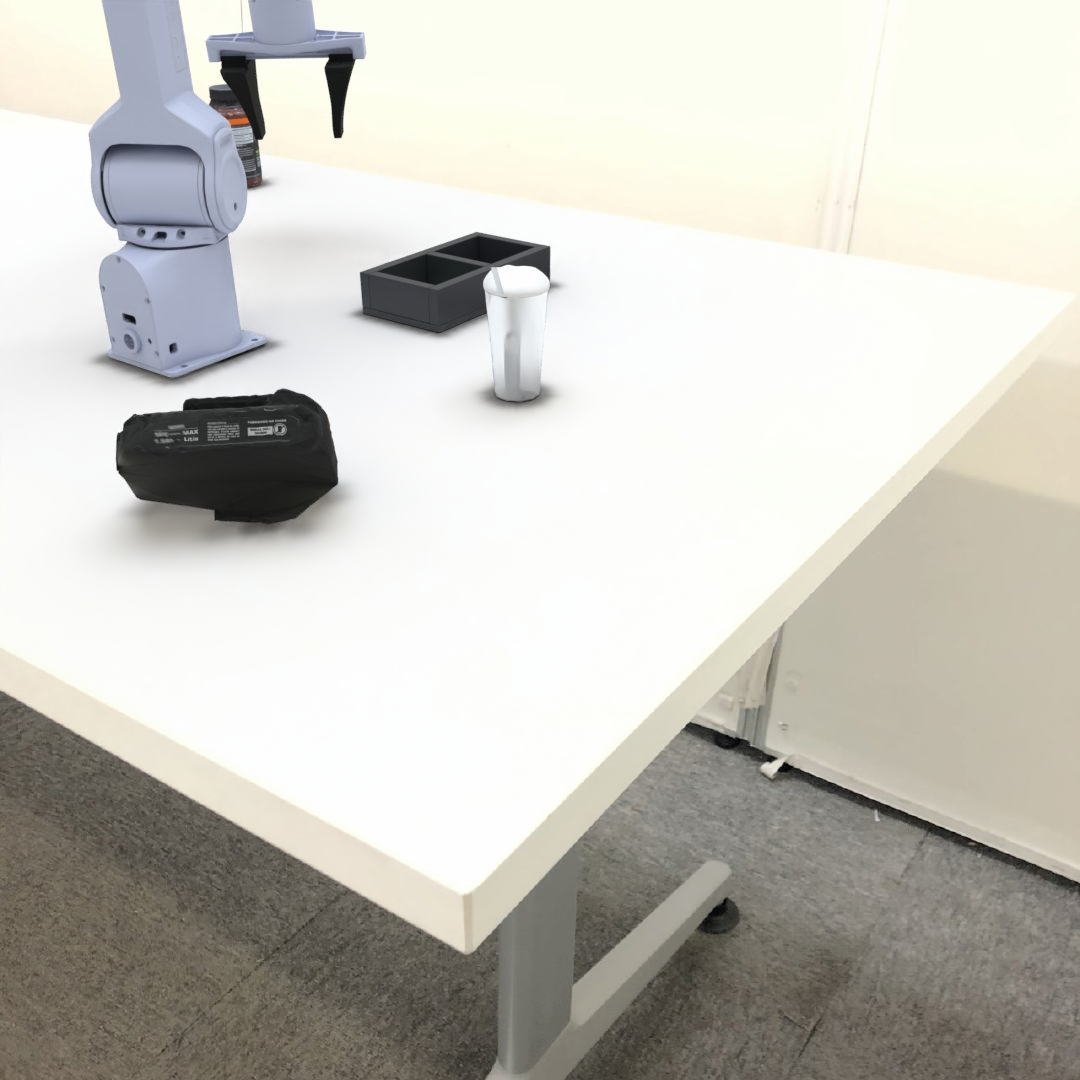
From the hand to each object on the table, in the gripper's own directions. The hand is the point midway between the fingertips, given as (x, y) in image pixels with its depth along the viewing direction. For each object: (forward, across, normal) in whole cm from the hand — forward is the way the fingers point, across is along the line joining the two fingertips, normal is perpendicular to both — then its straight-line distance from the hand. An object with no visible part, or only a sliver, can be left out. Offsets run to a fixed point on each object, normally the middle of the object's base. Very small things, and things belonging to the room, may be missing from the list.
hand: (299, 135), depth 110 cm
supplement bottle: (+14, +13, -25) cm, 31 cm away
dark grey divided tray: (+8, -16, +20) cm, 27 cm away
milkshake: (+5, -21, +42) cm, 47 cm away
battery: (+2, -5, +58) cm, 59 cm away
